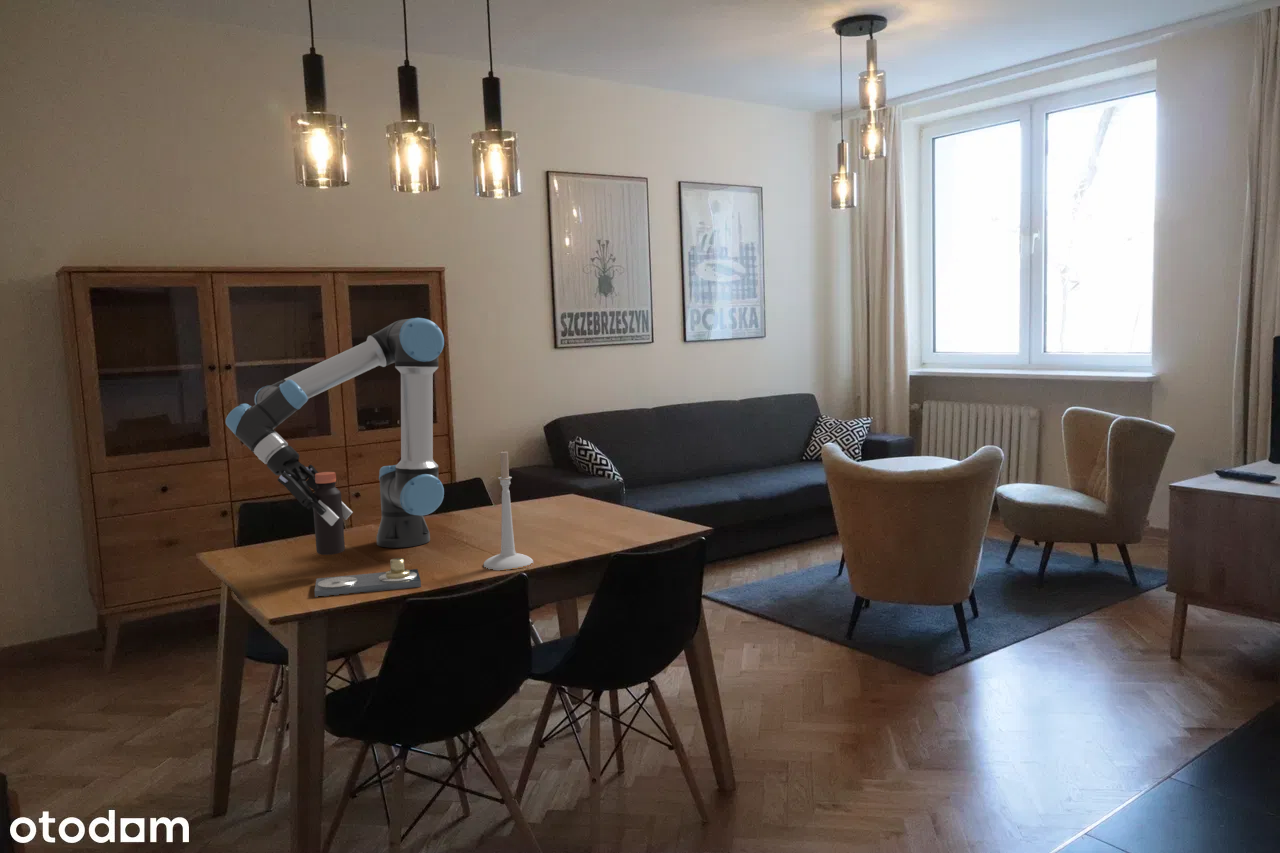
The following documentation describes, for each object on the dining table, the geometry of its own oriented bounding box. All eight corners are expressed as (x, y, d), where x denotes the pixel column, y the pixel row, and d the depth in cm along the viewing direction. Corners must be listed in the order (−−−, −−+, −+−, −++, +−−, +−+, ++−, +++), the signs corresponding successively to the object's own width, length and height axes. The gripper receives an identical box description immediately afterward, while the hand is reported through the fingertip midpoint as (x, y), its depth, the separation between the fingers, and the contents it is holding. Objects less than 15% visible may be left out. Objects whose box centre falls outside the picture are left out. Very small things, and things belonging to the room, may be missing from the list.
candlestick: (529, 570, 235) (525, 452, 232) (479, 571, 236) (474, 453, 233) (536, 558, 248) (532, 446, 245) (488, 558, 248) (483, 447, 246)
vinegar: (321, 549, 237) (315, 471, 234) (348, 547, 237) (342, 470, 235) (313, 555, 230) (307, 476, 228) (340, 554, 230) (335, 475, 228)
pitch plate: (417, 574, 233) (416, 552, 233) (420, 586, 222) (419, 563, 221) (316, 584, 226) (315, 561, 226) (314, 597, 215) (313, 573, 214)
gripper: (289, 459, 243) (351, 521, 242) (246, 471, 225) (313, 538, 223) (306, 439, 242) (369, 501, 241) (264, 449, 223) (331, 516, 222)
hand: (342, 518), depth 232 cm, fingers closed on vinegar, 6 cm apart
